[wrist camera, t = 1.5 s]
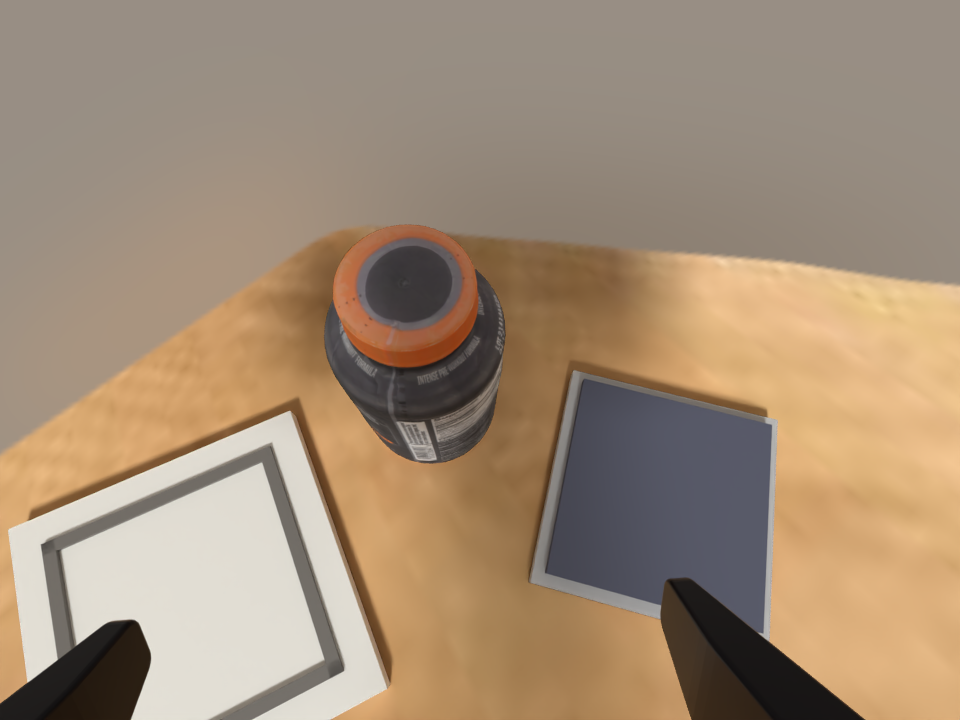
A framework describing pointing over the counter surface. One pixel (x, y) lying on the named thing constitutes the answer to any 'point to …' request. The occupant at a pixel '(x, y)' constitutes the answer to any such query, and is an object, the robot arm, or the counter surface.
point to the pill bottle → (416, 341)
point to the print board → (208, 583)
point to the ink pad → (658, 500)
